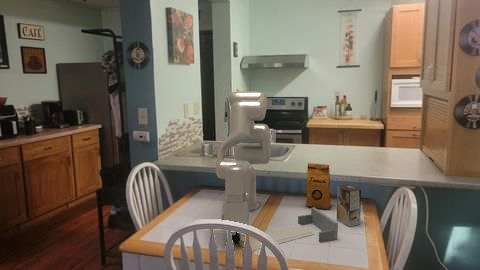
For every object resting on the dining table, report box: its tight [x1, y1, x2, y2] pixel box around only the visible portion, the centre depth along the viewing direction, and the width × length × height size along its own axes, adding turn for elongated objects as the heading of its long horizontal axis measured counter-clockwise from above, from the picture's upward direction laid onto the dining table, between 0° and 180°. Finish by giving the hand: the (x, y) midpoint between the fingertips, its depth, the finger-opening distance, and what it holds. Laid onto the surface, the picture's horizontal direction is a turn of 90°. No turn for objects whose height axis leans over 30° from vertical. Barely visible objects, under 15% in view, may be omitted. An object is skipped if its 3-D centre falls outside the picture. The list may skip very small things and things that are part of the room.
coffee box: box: [336, 184, 362, 228], centre depth 161 cm, size 9×6×16 cm
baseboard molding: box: [238, 223, 315, 251], centre depth 146 cm, size 31×3×12 cm
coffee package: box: [305, 162, 332, 210], centre depth 180 cm, size 10×12×22 cm
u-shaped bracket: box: [297, 207, 339, 243], centre depth 152 cm, size 18×8×7 cm, turn 19°
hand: (235, 243), depth 141 cm, fingers closed
